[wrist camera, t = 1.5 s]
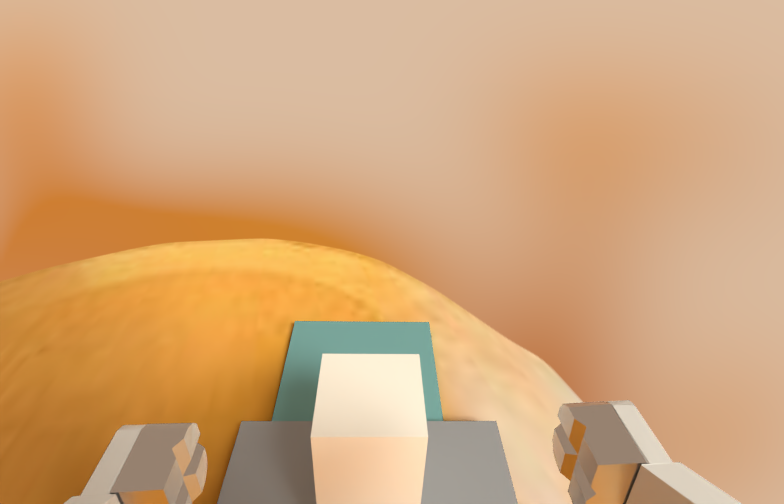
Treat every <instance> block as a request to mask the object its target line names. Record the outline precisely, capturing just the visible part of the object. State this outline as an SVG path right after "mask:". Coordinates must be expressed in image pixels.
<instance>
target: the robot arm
mask: <svg viewBox="0 0 784 504" xmlns="http://www.w3.org/2000/svg"><path fill="white" fill-rule="evenodd" d="M558 417H559V419H560V422H561V424H560V425H559V426H558V427H557V428H555V429H554V435H553V452H554V456H555V460H556V463H557V466H558V468H559V471H560V473H562V474H563V475H564V476H565V477H566V478H568V479H569V480H570V485H569V489H568V492H569V495H570V497H571V500H572V502H573V504H741V503H740V502H738V501H737V500H736V499H734V498H733V497H731V496H730V495H728V494H727V493H725V492H724V491H722V490H720V489H719V488H718V487H716V486H715V485H713V484H712V483H710V482H709V481H707V480H705V479H704V478H703V477H701V476H700V475H698V474H697V473H695V472H694V471H692V470H691V469H689V468H688V467H686V466H685V465H683V464H682V463H680V462H673V461H672V460H671V458H670V457H669V456H668V454H667V453H666V451H665V450H664V448H663V447H662V445H661V444H660V442H659V441H658V439H657V438H656V436H655V435H654V433H653V432H652V430H651V429H650V427H649V426H648V424H647V423H646V421H645V420H644V418H643V417H642V415H641V414H640V413H639V412H638V409H637V408H636V407H635V405H634V404H633V403H632V402H630V401H629V400H625V401H608V402H604V401H602V402H585V403H569V404H563V405H562V406H561V407H560V409H559V413H558ZM199 436H200V431H199V429H198V426H197V424H196V423H172V424H141V425H123V426H122V427H121V428H120V429H118V430H117V431H116V433H115V435H114V436H113V438H112V440H111V442H110V444H109V445H108V447H107V449H106V451H105V452H104V454H103V456H102V458H101V460H100V461H99V463H98V465H97V467H96V468H95V470H94V472H93V474H92V476H91V477H90V479H89V481H88V483H87V484H86V486H85V488H84V490H83V492H82V493H81V495H80V496H72V497H71V498H70V499H69V500H67V501H66V502H65V503H64V504H192V502H193V501H194V500H195V499H196V498H197V497H198V496H199V495H200V494H201V493H202V490H203V487H204V484H205V480H206V473H207V454H206V451H205V448H204V447H203V446H202V445H200V444H199V443H197V442H198V439H199Z"/></svg>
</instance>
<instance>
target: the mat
mask: <svg viewBox="0 0 784 504" xmlns="http://www.w3.org/2000/svg"><path fill="white" fill-rule="evenodd" d="M322 354H419V356H420V366H421V375H422V384H423V393H424V402H425V412H426V421H443V416H442V409H441V402H440V395H439V388H438V381H437V375H436V368H435V361H434V354H433V347H432V340H431V333H430V326H429V322H330V321H295V323H294V328H293V332H292V336H291V340H290V345H289V349H288V353H287V358H286V362H285V366H284V370H283V375H282V379H281V383H280V387H279V392H278V396H277V400H276V404H275V409H274V413H273V417H272V421H313V416H314V409H315V402H316V395H317V388H318V381H319V374H320V367H321V360H322Z"/></svg>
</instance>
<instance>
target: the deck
mask: <svg viewBox="0 0 784 504" xmlns="http://www.w3.org/2000/svg"><path fill="white" fill-rule="evenodd" d="M312 423H313V421H242V422H241V425H240V428H239V432H238V435H237V438H236V442H235V445H234V448H233V452H232V455H231V458H230V462H229V465H228V468H227V472H226V475H225V478H224V482H223V485H222V488H221V492H220V495H219V498H218V502H217V504H316V493H315V482H314V471H313V459H312V448H311V430H312ZM427 430H428V443H427V452H426V461H425V470H424V479H423V487H422V496H421V504H518V503H517V499H516V495H515V491H514V487H513V484H512V480H511V476H510V472H509V468H508V465H507V461H506V457H505V453H504V449H503V445H502V442H501V438H500V434H499V430H498V426H497V423H496V421H427Z"/></svg>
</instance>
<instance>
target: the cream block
mask: <svg viewBox="0 0 784 504" xmlns="http://www.w3.org/2000/svg"><path fill="white" fill-rule="evenodd" d="M427 443H428V430H427V421H426V412H425V402H424V393H423V384H422V375H421V366H420V356H419V354H322V360H321V367H320V374H319V381H318V388H317V395H316V402H315V409H314V416H313V423H312V430H311V448H312V459H313V471H314V482H315V493H316V504H421V496H422V487H423V479H424V470H425V461H426V452H427Z"/></svg>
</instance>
